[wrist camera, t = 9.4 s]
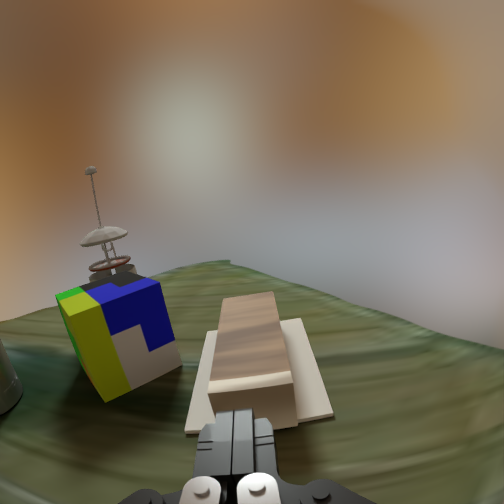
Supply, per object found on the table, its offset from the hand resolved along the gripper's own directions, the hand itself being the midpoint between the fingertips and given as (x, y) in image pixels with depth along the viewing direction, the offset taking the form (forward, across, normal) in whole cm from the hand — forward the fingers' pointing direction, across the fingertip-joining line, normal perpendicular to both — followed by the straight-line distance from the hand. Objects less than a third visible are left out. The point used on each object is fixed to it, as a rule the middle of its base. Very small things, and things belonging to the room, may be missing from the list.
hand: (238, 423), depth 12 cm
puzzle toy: (+20, +15, +9) cm, 27 cm away
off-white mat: (+18, 0, +9) cm, 20 cm away
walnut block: (+8, 0, +6) cm, 10 cm away
